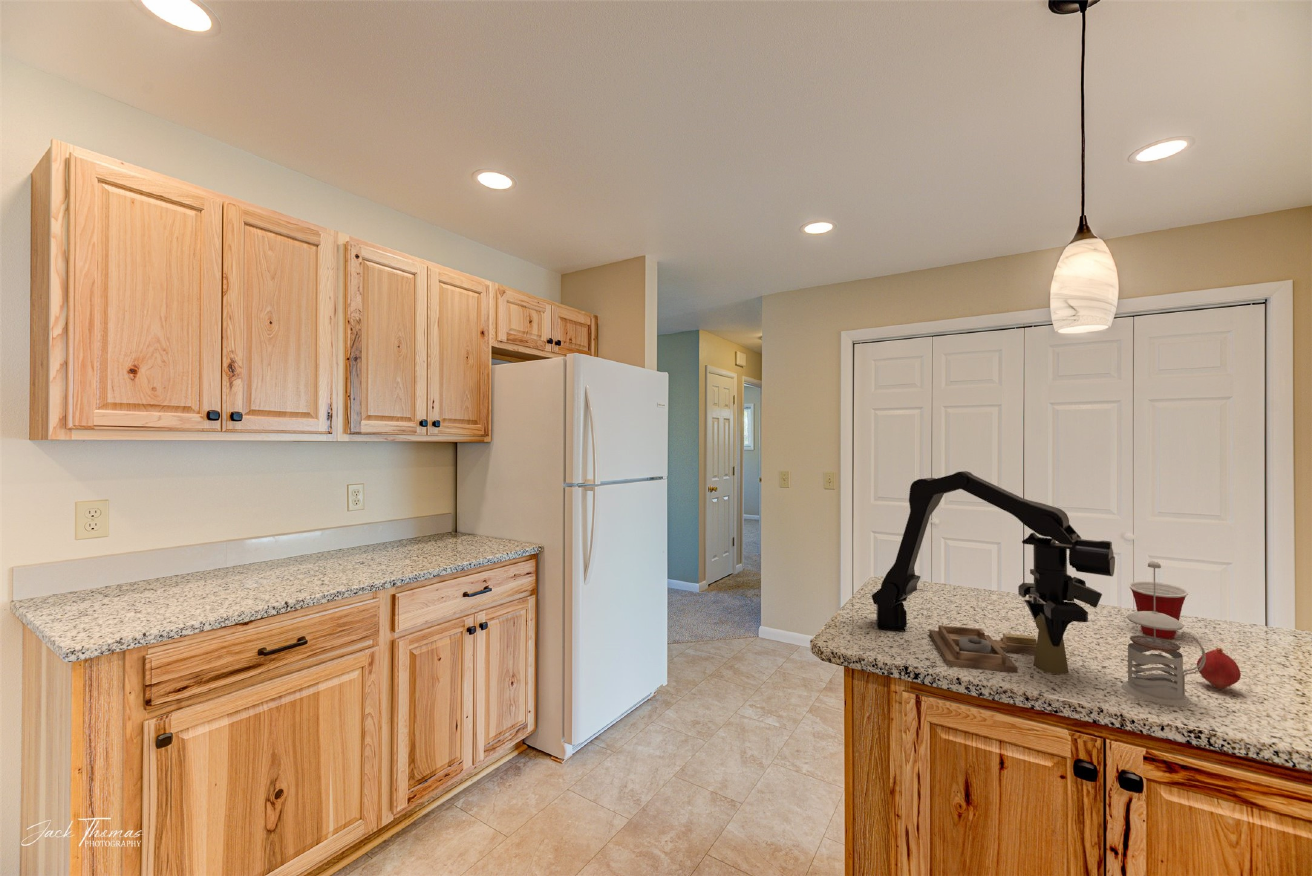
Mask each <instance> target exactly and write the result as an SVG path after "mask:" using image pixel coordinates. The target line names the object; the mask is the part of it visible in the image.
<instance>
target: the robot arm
mask: <svg viewBox="0 0 1312 876" xmlns="http://www.w3.org/2000/svg"><path fill="white" fill-rule="evenodd" d="M957 490H961V491H964V492H966V493H968V494H970V495H972V496H974V497H976V498H977V499H981V500H983V501H984V502H986V503H988V504H989V505H992V506H995V507H996V508H998V509H1000V510H1003V511H1004V512H1007V513H1009V514H1010V515H1011V516H1013V517H1015V518H1016V519H1017V520H1018V521H1019V522H1020V523H1022V524H1023V525H1024V526H1025V527H1027V528H1029V529H1030V530H1031V531H1033V532H1031V533H1029V535H1028V537H1025V539H1022V540H1021V544H1023V545H1030V546H1033V548H1032V549H1033V550H1032V551H1033V568H1030V569H1029V574H1030V575H1032V576H1033V582H1022V583H1021V584H1019V585H1018V588H1017V590H1018V593H1017V595H1019V596H1020V597H1022V598H1025V599H1024V600H1023V601H1024V603H1025V605H1026V606H1027V608H1028V610H1029V613H1030V614H1031V617H1032V618H1033V621H1035V620H1036V617H1037V616H1038V615H1041V617H1042V620H1043V623H1044V625H1045V628H1046V631H1047V633H1048V636H1049V638H1050V641H1051V643H1052V645H1053V646H1056V647H1059V646H1060V643H1061V640H1062V638H1063V639H1064V635H1065V632H1066V629H1067V628H1068V626H1069V625H1070V624H1071V623H1073V622H1078V623H1088V622H1089V611H1087V610H1086V609H1085V607H1083V606H1081V605H1080V604H1078V603H1076V602H1075V600H1077V601H1079V602H1082V603H1084V604H1086V605H1089V606H1090V607H1092V608H1097V607H1098V605H1099V602H1100V601H1101V598H1102V596H1103V593H1101V592H1099V591H1098V590H1096V589H1094V588H1091V587H1089V586H1087V584H1086V580H1084V579H1082V578H1079V577H1076V576H1072V575H1070V574H1069V573H1068V564H1069V566H1071V568H1073V569H1075V571H1076V572H1077V573H1086V574H1092V575H1100V576H1106V577H1114V574H1115V569H1116V556H1114V548H1113V542H1112V541H1111V540H1093V539H1085V538H1084V539H1083V538H1082V537H1081V535H1080V534H1079V533H1078V532H1077V531H1076V530H1075V529H1074V528H1073V526H1072V525H1071V524H1070V518H1069V516H1068V514H1067V512H1065V511H1064V510H1063V509H1061V508H1059V507H1056V506H1054V505H1053V506H1052V505H1050V504H1046V503H1042V502H1038V501H1034V500H1031V499H1026V498H1023V497H1021V496H1019V495H1017V494H1014V493H1013V492H1010V491H1008V490H1006V489H1004V488H1002V487H1000V486H998V485H995V484H993V483H991V482H990V481H987V480H985V479H983V478H981V477H978V476H976V475H974V474H973V473H972V472H970V471H966V470H964V471H957V472H954V473H953V474H949V475H946V476H942V477H937V478H935V477H926V478H920V479H916V480H914V481H913V482H912V483H911V484H910V488H909V494H908V505H909V514H908V518H907V522H906V525H905V528H904V531H903V534H902V536H901V542H900V545H899V547H898V551H897V554H896V558H895V561H894V563H893V565H892V566H891V568H890V569H888V572H886V575H885V577H884V578H883V580H882V582H881V584H880V588H878V589H877V590H876V591H875V592H874V593H873V594H872V595H871V599H872V602H873V604H874V605H876V606H875V607H876V611H875V612H876V619H874V620H875V623H876V627H877V629H878V630H886V631H898V632H906V628H907V625H908V623H907V621H908V619H907V617H908V616H907V615H908V614H907V610H906V608H905V604H904V602H907V599H908V598H909V596H911V595H912V594H913V593H914V592H916V591H918V584H919V581H920V580H921V575H917V574H916V570H915V567H916V563H917V559H918V556H919V553H920V550H921V546H922V543H923V540H924V537H925V534H926V531H927V528H928V525H929V524H928V523H929V520H930V517H931V515H932V514H933V513H934V511H935V510H936V509H937V507H938V506H939V505H940V502H941V501H942V499H943V497H944V495H945V494H947V493H951V492H955V491H957ZM1027 597H1028V599H1026V598H1027Z"/></svg>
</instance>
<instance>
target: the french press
mask: <svg viewBox="0 0 1312 876" xmlns="http://www.w3.org/2000/svg"><path fill="white" fill-rule="evenodd" d="M1147 568H1151V569H1153V582H1154V611H1139V612H1137V611H1134V612H1132V613H1129V614H1127V615H1126V617H1125V618H1126V619H1127V620H1128V621H1129V622H1131V623H1133V624H1134V625H1137V626H1140V627H1141V626H1144V627H1149V628H1154V637H1153V636H1152V637H1151V636H1147V635H1145V634H1143V635H1142V634H1141V635H1138V634H1137V635H1131V636H1130V637H1129V639H1130V641H1131V642H1130V643H1128V644H1127V680H1126V681H1124V682H1123V683H1122V684H1121V685H1120V687H1121V688H1122V689H1123V691H1125V692H1126V693H1129V694H1130V695H1132V696H1133V697H1136V698H1138V699H1141V700H1145V701H1148V702H1152V703H1155V704H1161V705H1165V706H1172V707H1173V706H1176V707H1184V706H1189V705H1191V703H1192V700H1191V699H1190V698H1189V697H1188V696H1187V694H1185V693H1186V691H1185V690H1186V687H1185V686H1186V684H1185V683H1186V676H1187V675H1188V676H1189V675H1193V674H1196V673H1199V671H1200V670H1201V669H1202V668H1203V667H1204V664H1205V662H1206V651H1205V649H1204V647H1203V645H1202V644H1201V642H1200V640H1199V639H1198V638H1196V637H1195V636H1193V635H1192V634H1191V633H1189V632H1188V631H1187V632H1186V631H1182V632H1180V636H1181V638H1180V639H1181V640H1182V641H1183V642H1184V641H1185V637H1188V638H1190V639H1192V640H1193V641H1194V642H1196V643H1197V644H1198V646H1199V647H1200V650H1201V656H1202V660H1201V662H1200V663H1199V665H1198V666H1197V665H1196V666H1195V667H1193V668H1189V669H1185V670H1184V656H1183V654H1182V653H1181V651H1180V650H1181V648H1182V646H1181V645H1180V644H1179V643H1176V642H1174V641H1172V640H1171V639H1169V640H1168V639H1162V638H1161V639H1160V638H1157V637H1156V630H1155V629H1161V630H1176V631H1181V630H1183V628H1184V627H1185V624H1184V623H1182V622H1181V621H1180V620H1179V621H1178V620H1177V619H1175V618H1172V617H1170V616H1168V615H1166V614H1163V613H1158V612H1156V611H1155V582H1156V569H1162V565H1161V563H1159V562H1158V561H1155V560H1152V561H1151V560H1150V561H1148V563H1147ZM1151 651H1153V652H1154V651H1157V652H1158V651H1159V652H1162V653H1165V654H1166V655H1169V656H1170V657H1168V656H1166V655H1163V654H1161V653H1150V654H1147V652H1151ZM1133 662H1134V663H1133ZM1202 663H1203V664H1202ZM1201 664H1202V665H1201ZM1148 665H1161V666H1151V667H1145V666H1148ZM1200 666H1201V667H1200ZM1199 667H1200V668H1199ZM1197 668H1199V670H1198V669H1197ZM1153 671H1158V672H1162V673H1154V672H1153ZM1191 671H1192V672H1191ZM1147 672H1153V673H1147ZM1143 673H1147V674H1143Z"/></svg>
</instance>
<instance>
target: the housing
mask: <svg viewBox="0 0 1312 876" xmlns="http://www.w3.org/2000/svg"><path fill="white" fill-rule="evenodd" d="M928 630H929V631H928V632H929V633H928V635H929V637H930V639H931V640H932V642H933V643H934V645H935V646H936V647H935V648H936V649H937V650H938V651H939V653H940V656H941V657H942V658H943V660H944V662H945V664H946V665H947V666H949V667H958V668H967V669H978V670H987V671H988V670H989V671H997V672H998V671H999V672H1008V673H1017V674H1018V667H1019V666H1018V665H1016V664H1015V662H1014V661H1013V660H1012V659H1011V658H1010V657H1009V656H1008V655H1007V653H1009V654H1021V655H1031V656H1035V650H1036V646H1033V645H1022V644H1011V643H1006V645H1005V644H1004V642H1003V636H1002V637H1001V636H1000V640H999V639H994V638H992V637H991V636H990V635H989V634H986V633H985V632H984V630H983V629H982V628H979V627H977V628H976V627H967V626H957V625H956V626H953V625H943V624H941V625H940V624H938V629H937V630H935V629H934V630H933V629H928Z"/></svg>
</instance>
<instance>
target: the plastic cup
mask: <svg viewBox="0 0 1312 876" xmlns="http://www.w3.org/2000/svg"><path fill="white" fill-rule="evenodd" d="M1128 587H1129V589H1130V590H1131V592H1132V595H1133V599H1134V604H1135V607H1136V612H1139V611H1154V581H1132V582H1130V583H1128ZM1188 595H1189V591H1188V590H1187V589H1185V588H1182V587H1180V586H1176V585H1173V584H1169V583H1163V582H1156V581H1155V611H1156V612H1158V613H1163V614H1166V615H1168V616H1170V617H1172V618H1175V619H1177V620H1178V621H1179V622H1180V618H1181V614H1182V610H1183V609H1182V608H1183V605H1184V602H1185V600H1186V597H1187V596H1188ZM1140 629H1141V633H1142V634H1143V635H1144V636H1145V635H1146V636H1151V637H1152V636H1153V637H1154V628H1149V627H1144V626H1141V625H1140ZM1155 630H1156V637H1157V638H1160V639H1161V638H1162V639H1164V640H1168V641H1169V640H1174V639H1175V637H1176V635H1177V630H1161V629H1155Z"/></svg>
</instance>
